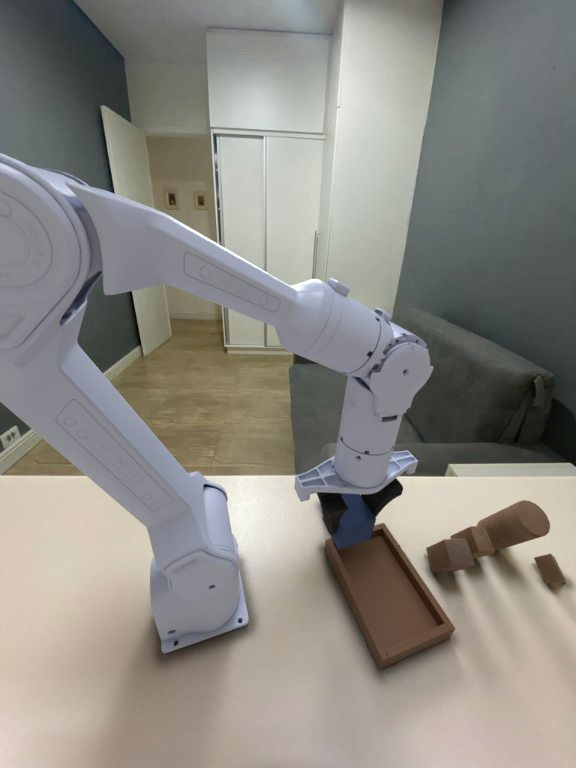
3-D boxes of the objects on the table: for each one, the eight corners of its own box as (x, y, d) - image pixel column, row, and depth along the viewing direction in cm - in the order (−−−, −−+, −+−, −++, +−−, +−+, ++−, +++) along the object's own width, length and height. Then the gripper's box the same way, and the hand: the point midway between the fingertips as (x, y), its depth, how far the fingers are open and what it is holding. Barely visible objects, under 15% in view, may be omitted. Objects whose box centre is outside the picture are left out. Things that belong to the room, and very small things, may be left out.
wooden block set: (431, 589, 42) (468, 582, 34) (413, 522, 48) (441, 502, 39) (557, 583, 43) (622, 575, 35) (525, 518, 48) (576, 497, 40)
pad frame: (378, 669, 33) (382, 661, 32) (324, 548, 44) (325, 539, 43) (450, 637, 36) (455, 628, 35) (381, 531, 47) (383, 522, 46)
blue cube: (338, 550, 37) (342, 528, 35) (322, 519, 40) (325, 497, 38) (370, 540, 38) (376, 518, 36) (352, 510, 42) (357, 489, 40)
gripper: (400, 406, 37) (378, 485, 44) (287, 425, 33) (282, 510, 40) (443, 442, 32) (411, 527, 38) (313, 471, 27) (302, 562, 34)
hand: (347, 522), depth 39 cm, fingers closed on blue cube, 4 cm apart
